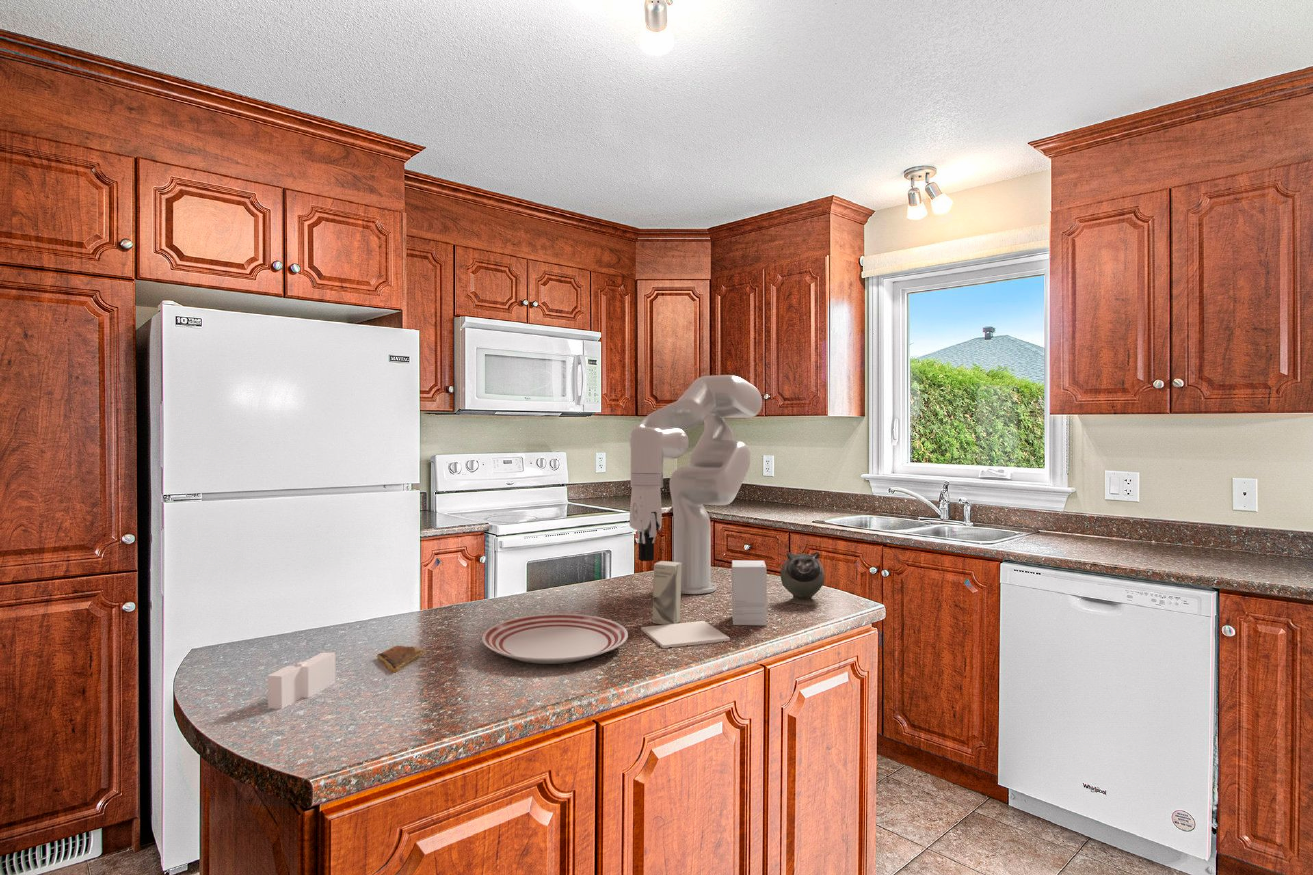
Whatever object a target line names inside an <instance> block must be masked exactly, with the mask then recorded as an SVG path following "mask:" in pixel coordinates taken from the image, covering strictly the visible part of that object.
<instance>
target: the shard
mask: <svg viewBox="0 0 1313 875" xmlns="http://www.w3.org/2000/svg"><path fill="white" fill-rule="evenodd" d="M426 653H427V651H426V650H425V649H423V648H420V647H419V646H418V647H417V646H408V645H407V646H406V645H394V646H392V647H389V648H388V649H386V650H385V651H381V652H380V653H377V655H376V657H377V659H378V660H379V661H381V662H383V663H384V664H385V666H386V667H387V669H389V671H391V672H393V673H395V674H398V672H400V671H401V670H403V669H404V668H405V667H406V666H408V665H409V664H410V663H411V664H412V662H415V661H416V660H417V659H419V658H421V657H423V656H424V655H426Z"/></svg>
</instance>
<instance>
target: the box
mask: <svg viewBox="0 0 1313 875" xmlns="http://www.w3.org/2000/svg"><path fill="white" fill-rule="evenodd" d="M681 565H682V563H679V562H674V561H665V560H659V561H657V562H655V563H654V564H653V583H652V586H653V587H652V588H653V589H652V591H653V592H652V623H653V624H657V625H668V624H678V623H679V622H680V621H681V598H682V597H681V594H682V593H681Z"/></svg>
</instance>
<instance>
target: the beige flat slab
mask: <svg viewBox="0 0 1313 875" xmlns="http://www.w3.org/2000/svg"><path fill="white" fill-rule="evenodd" d="M640 630H641V632H643V633H644V634H645V635H646V636H648V637H649V638H650V639H651V640H653V641H654V643H656V644H657V645H658V646H659V645H660V647H661V648H662V649H670V648H669V647H672V648H679V647H687V645H688V646H689V647H690V646H697V645H704V644H714V643H722V642H723V641H724V642H730V641H731V638H730V637H729V636H728V635H726V633H723V632H722V631H720V630H719V629H717V628H715V627H714V626H712V625H711V624H710V623H708V622H706V621H704V620H699V621H697V620H696V621H690V622H689V621H687V622H681V623H679V622H678V623H676V624H668V625H663V624H657V625H651V626H641V628H640ZM724 642H723V643H724Z"/></svg>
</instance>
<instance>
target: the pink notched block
mask: <svg viewBox="0 0 1313 875" xmlns="http://www.w3.org/2000/svg"><path fill="white" fill-rule="evenodd" d="M335 683H336V653H335V652H321V653H320V652H319V654H317V655H314V656H313V657H310V658H308V659H307V660H305V661H303V660H301V661H299V662H297V663H296V665H286V666H285V667H283V668H280V669H279V670H276V671H274V672H272V673H269V674H268V675H267V708H268V709H278V710H279V709H281V710H282V709H284V708H286V707H288V706H289V705H291V704H293V703H295V702H297V701H298V700H300V699H301V698H302V699H303V698H306V699H309V698H311V697H313V696H314V695H316V694H319V692H321V691H323V690H325V689H327V688H328V687H330V686H332V685H333V684H335Z"/></svg>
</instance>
